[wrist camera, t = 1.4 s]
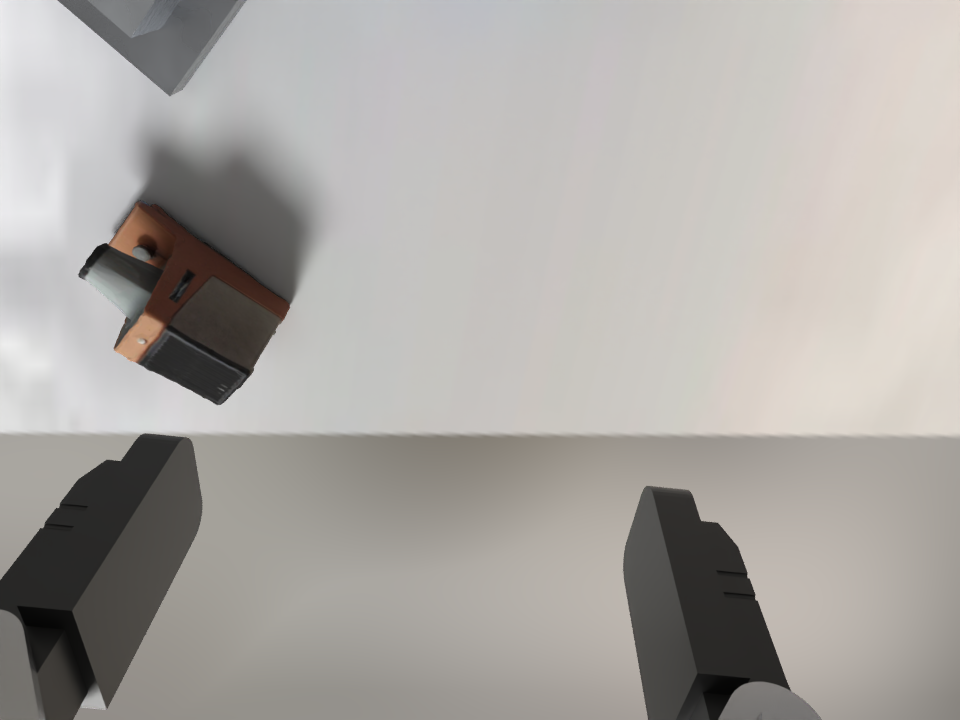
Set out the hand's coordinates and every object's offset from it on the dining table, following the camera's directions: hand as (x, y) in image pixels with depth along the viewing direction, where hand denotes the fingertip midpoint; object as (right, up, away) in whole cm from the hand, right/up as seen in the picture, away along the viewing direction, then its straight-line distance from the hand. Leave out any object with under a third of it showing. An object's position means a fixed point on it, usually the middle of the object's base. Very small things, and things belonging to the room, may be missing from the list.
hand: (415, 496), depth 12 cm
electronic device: (-15, +7, +27) cm, 32 cm away
